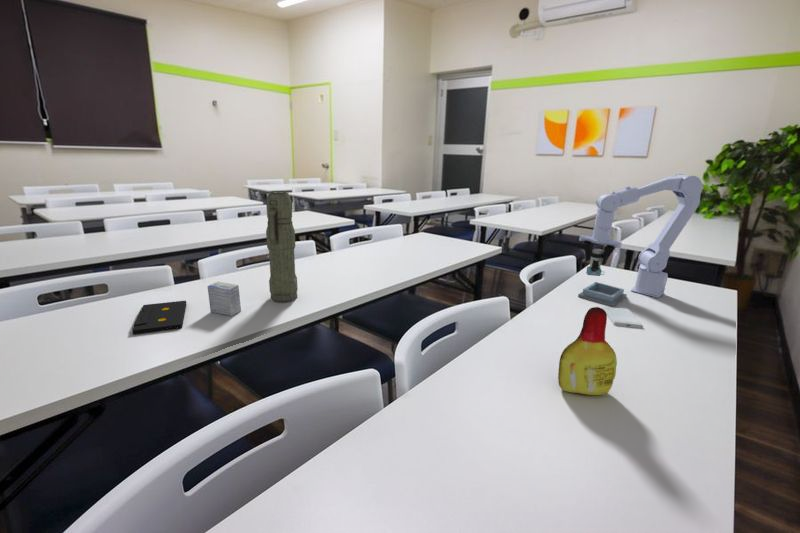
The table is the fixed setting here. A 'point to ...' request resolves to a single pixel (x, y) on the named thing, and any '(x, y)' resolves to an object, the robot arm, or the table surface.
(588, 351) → the bottle
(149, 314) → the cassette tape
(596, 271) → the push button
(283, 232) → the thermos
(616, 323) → the hard drive
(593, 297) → the end holder
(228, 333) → the table surface
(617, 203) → the robot arm
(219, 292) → the grey layered block
